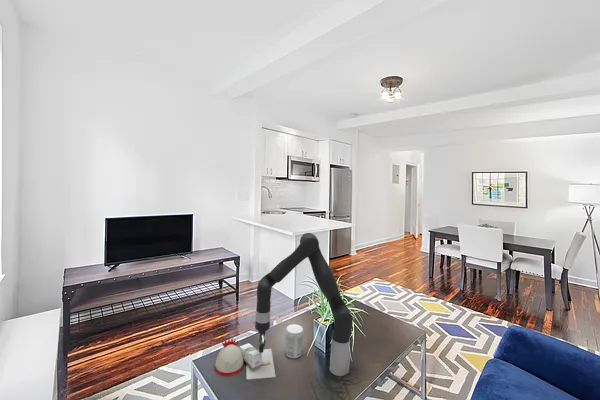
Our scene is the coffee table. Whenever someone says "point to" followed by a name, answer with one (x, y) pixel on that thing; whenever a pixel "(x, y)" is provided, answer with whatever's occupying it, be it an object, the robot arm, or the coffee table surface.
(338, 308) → the robot arm
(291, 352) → the supplement tub
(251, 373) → the white rectangular board
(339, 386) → the coffee table surface
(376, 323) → the coffee table surface
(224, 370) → the kitchen timer
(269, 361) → the beech stop strip
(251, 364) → the syrup box
